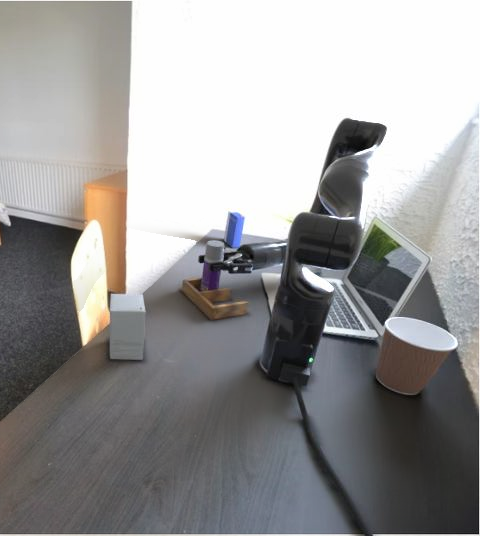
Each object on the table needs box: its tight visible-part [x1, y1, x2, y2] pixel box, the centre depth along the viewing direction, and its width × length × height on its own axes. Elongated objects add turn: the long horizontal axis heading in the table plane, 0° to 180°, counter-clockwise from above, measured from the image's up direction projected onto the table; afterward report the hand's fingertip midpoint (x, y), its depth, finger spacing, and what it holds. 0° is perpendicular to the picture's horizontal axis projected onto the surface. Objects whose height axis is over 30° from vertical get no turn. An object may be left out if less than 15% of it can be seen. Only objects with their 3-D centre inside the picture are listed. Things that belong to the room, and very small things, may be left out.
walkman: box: [223, 210, 246, 249], centre depth 137 cm, size 8×3×12 cm, turn 3°
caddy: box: [181, 276, 249, 321], centre depth 102 cm, size 10×16×4 cm, turn 13°
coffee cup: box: [375, 316, 459, 396], centre depth 71 cm, size 10×10×12 cm
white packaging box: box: [109, 293, 146, 361], centre depth 82 cm, size 7×7×13 cm
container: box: [199, 240, 225, 292], centre depth 103 cm, size 5×5×15 cm
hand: (204, 263), depth 101 cm, fingers closed on container, 4 cm apart
